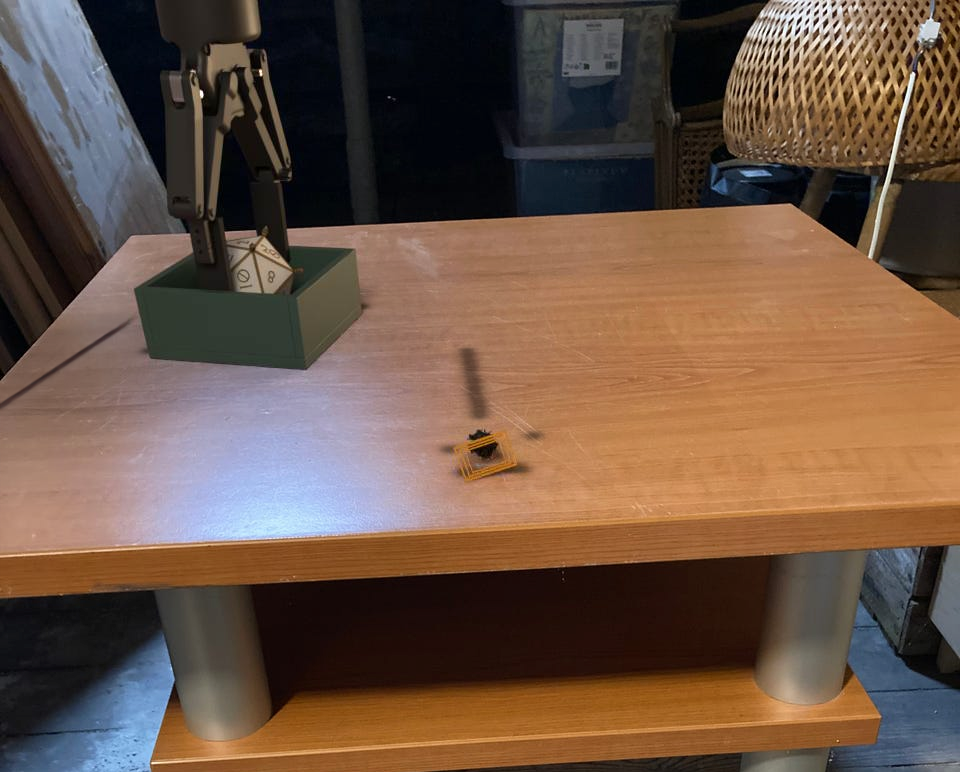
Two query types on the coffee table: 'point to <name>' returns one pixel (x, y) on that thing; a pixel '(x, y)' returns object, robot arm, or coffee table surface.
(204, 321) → the bin
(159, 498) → the coffee table surface
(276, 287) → the game die
